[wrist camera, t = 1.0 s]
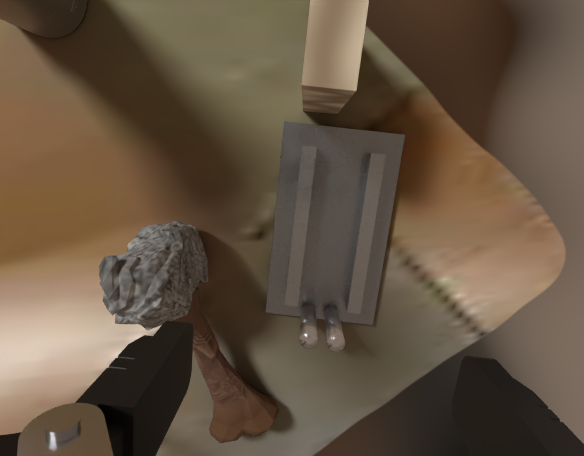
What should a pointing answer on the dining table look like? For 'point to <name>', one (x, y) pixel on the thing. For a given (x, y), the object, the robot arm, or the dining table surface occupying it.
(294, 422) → the dining table surface
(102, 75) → the dining table surface
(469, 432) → the robot arm
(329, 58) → the wooden block
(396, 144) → the rail
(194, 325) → the hammer
